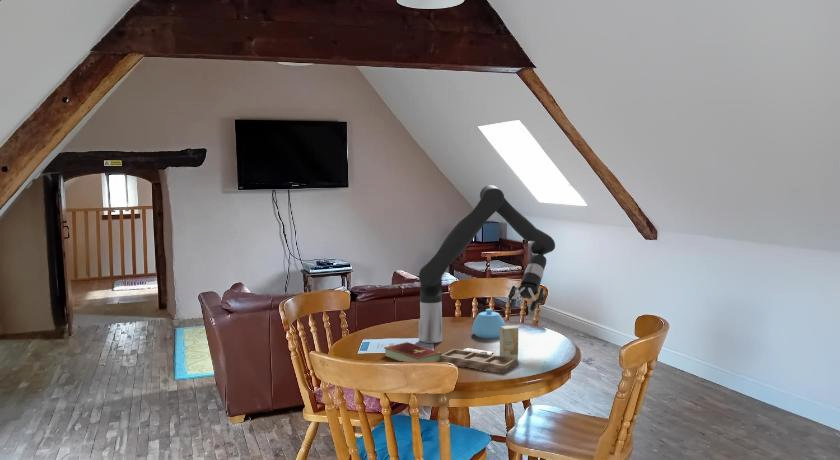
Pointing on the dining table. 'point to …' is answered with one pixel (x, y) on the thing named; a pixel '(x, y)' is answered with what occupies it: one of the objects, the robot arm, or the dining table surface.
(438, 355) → the hardcover book
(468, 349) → the card
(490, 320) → the sugar bowl
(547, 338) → the dining table surface
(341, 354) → the dining table surface
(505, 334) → the skincare box
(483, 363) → the socket board
